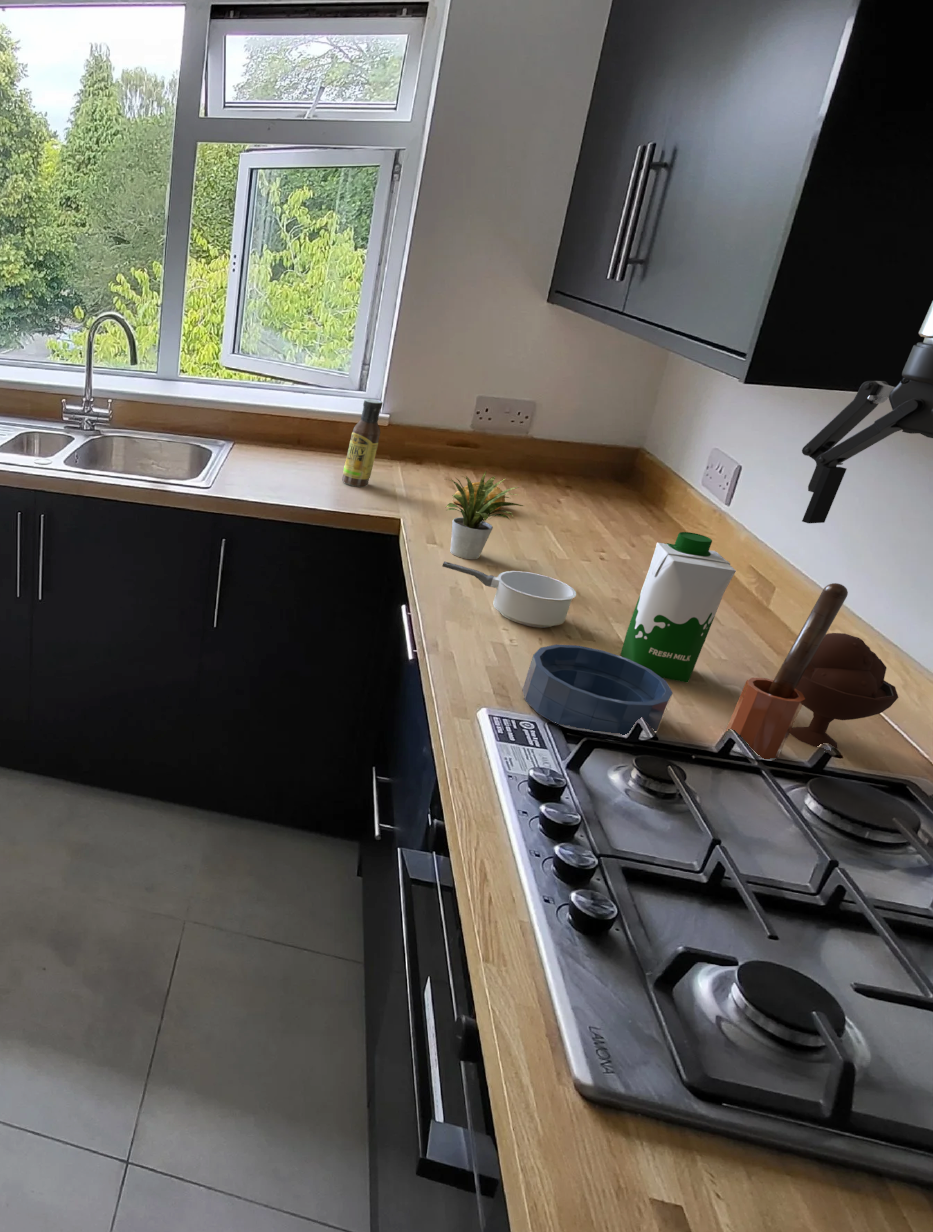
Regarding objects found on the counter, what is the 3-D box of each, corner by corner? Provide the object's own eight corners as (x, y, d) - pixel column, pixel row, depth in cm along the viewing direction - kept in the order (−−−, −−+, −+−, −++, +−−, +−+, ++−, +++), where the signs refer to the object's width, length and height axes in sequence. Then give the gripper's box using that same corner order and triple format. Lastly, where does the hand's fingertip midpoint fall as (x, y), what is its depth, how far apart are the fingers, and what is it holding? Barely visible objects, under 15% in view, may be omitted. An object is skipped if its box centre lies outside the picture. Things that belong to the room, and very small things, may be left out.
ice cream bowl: (851, 776, 107) (906, 666, 101) (745, 731, 115) (790, 627, 109) (878, 751, 113) (931, 646, 107) (775, 710, 121) (819, 610, 115)
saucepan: (442, 582, 156) (450, 552, 154) (569, 614, 146) (579, 583, 144) (428, 603, 147) (436, 572, 144) (562, 638, 137) (573, 606, 135)
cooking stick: (763, 753, 109) (856, 589, 101) (748, 751, 109) (839, 586, 101) (750, 744, 111) (840, 582, 103) (734, 741, 111) (823, 578, 103)
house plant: (448, 569, 162) (470, 483, 155) (407, 542, 174) (426, 461, 168) (516, 569, 165) (541, 484, 158) (471, 542, 177) (493, 462, 171)
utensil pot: (786, 766, 108) (816, 702, 104) (743, 764, 107) (771, 700, 104) (752, 740, 113) (779, 678, 109) (710, 738, 112) (736, 676, 109)
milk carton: (676, 662, 132) (725, 536, 125) (696, 690, 124) (750, 558, 117) (611, 650, 135) (655, 526, 127) (627, 677, 127) (675, 546, 119)
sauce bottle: (335, 480, 212) (352, 397, 204) (355, 479, 214) (372, 396, 207) (354, 488, 206) (372, 403, 199) (374, 487, 209) (393, 402, 201)
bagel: (444, 496, 206) (449, 476, 204) (492, 500, 206) (497, 480, 204) (460, 510, 197) (465, 489, 195) (510, 514, 196) (515, 493, 195)
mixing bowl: (684, 749, 110) (701, 707, 107) (563, 744, 109) (577, 702, 106) (607, 685, 124) (621, 647, 122) (500, 681, 123) (511, 642, 121)
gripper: (1156, 367, 80) (1041, 584, 88) (855, 328, 102) (786, 505, 110) (1107, 365, 78) (994, 588, 86) (810, 326, 99) (742, 507, 107)
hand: (877, 542), depth 98 cm, fingers open, 13 cm apart
